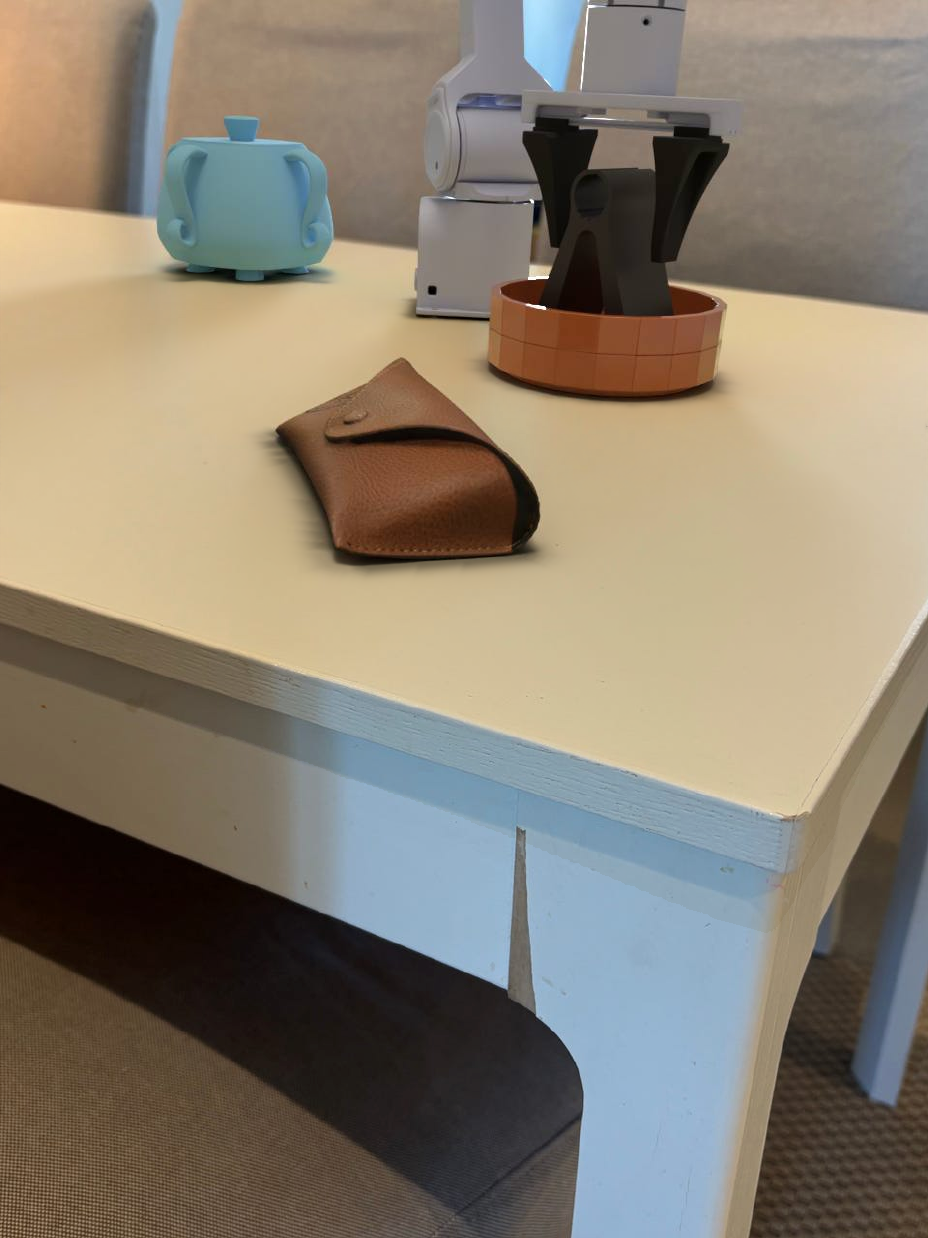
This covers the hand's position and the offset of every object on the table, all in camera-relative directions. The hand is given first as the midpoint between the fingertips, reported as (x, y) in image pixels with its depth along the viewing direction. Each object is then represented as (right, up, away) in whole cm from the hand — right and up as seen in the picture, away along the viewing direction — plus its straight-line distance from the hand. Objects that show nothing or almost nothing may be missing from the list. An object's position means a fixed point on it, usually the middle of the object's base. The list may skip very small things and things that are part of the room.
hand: (611, 253), depth 68 cm
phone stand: (0, -6, +3) cm, 7 cm away
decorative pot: (-30, +10, +35) cm, 47 cm away
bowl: (0, -7, +3) cm, 8 cm away
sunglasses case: (-13, -17, -19) cm, 29 cm away
